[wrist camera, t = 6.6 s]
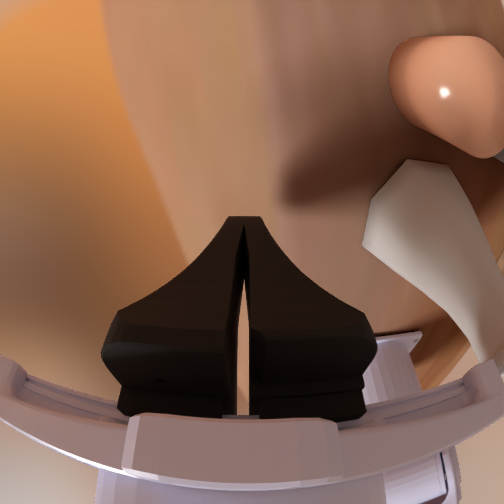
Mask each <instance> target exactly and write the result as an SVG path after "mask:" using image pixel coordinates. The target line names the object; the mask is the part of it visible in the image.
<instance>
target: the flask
mask: <svg viewBox="0 0 504 504" xmlns="http://www.w3.org/2000/svg"><path fill="white" fill-rule="evenodd" d="M362 246H363V247H364V248H366V249H367V250H368V251H369V252H371V253H372V254H373V255H375V256H376V257H377V258H378V259H380V260H381V261H382V262H383V263H385V264H386V265H387V266H388V267H390V268H391V269H392V270H394V271H395V272H396V273H398V274H399V275H400V276H402V277H403V278H405V279H406V280H407V281H409V282H410V283H412V284H413V285H414V286H416V287H417V288H418V289H420V290H421V291H422V292H424V293H425V294H426V295H427V296H428V297H430V298H431V299H432V300H433V301H434V302H436V303H437V304H438V305H439V306H440V307H442V308H443V309H444V310H445V311H446V312H447V313H448V314H449V315H450V317H451V318H452V319H453V320H454V321H455V323H456V324H457V325H458V326H459V328H460V329H461V330H462V332H463V333H464V334H465V335H466V337H467V338H468V340H469V342H470V344H471V346H472V347H473V349H474V352H475V354H476V356H477V358H478V360H479V364H480V363H482V362H485V361H487V360H490V359H494V361H495V364H496V366H497V368H498V371H499V373H500V375H501V378H502V377H504V276H503V274H502V272H501V270H500V268H499V267H498V265H497V263H496V260H495V257H494V255H493V252H492V250H491V248H490V245H489V243H488V241H487V238H486V236H485V234H484V232H483V229H482V227H481V224H480V222H479V220H478V218H477V216H476V213H475V211H474V209H473V207H472V205H471V203H470V201H469V199H468V198H467V196H466V194H465V192H464V191H463V189H462V187H461V185H460V184H459V182H458V180H457V179H456V177H455V176H454V174H453V172H452V171H451V169H450V168H449V166H448V165H445V164H439V163H433V162H426V161H419V160H411V159H407V160H406V161H405V162H404V163H403V164H402V166H401V167H400V168H399V169H398V170H397V171H396V172H395V173H394V175H393V176H392V177H391V178H390V179H389V180H388V181H387V182H386V183H385V185H384V186H383V187H382V188H381V189H380V190H379V191H378V192H377V193H376V194H375V196H374V197H373V198H372V199H371V203H370V208H369V214H368V219H367V224H366V228H365V233H364V238H363V242H362Z"/></svg>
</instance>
